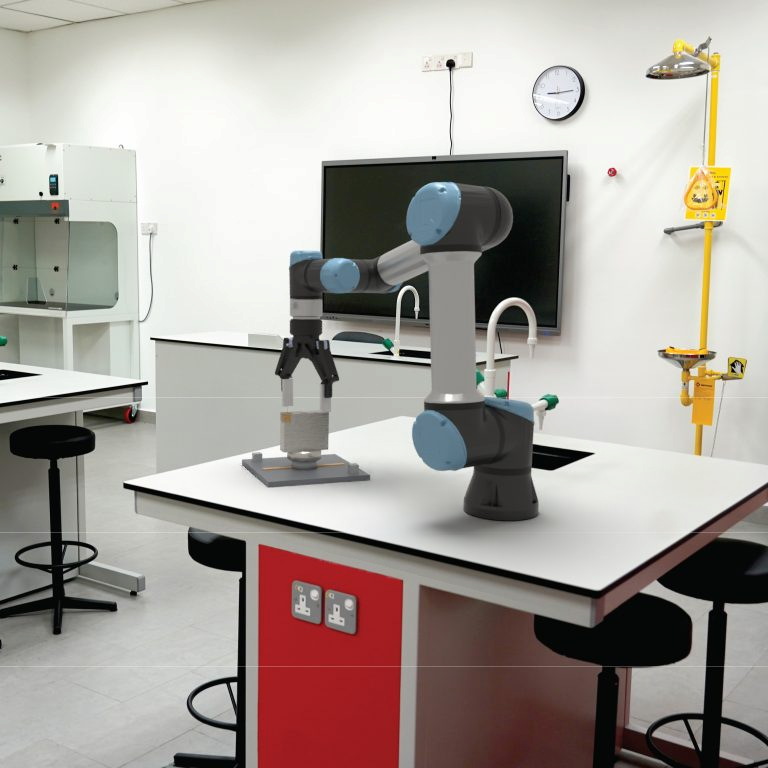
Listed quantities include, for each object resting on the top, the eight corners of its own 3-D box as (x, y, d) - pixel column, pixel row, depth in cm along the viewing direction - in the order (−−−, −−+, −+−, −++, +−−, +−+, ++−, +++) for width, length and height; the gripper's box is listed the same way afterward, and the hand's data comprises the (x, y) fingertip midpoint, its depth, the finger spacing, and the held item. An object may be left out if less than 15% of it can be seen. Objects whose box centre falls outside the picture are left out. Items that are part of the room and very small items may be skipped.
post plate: (369, 479, 207) (370, 466, 207) (268, 487, 198) (268, 473, 198) (335, 458, 229) (335, 446, 229) (242, 464, 220) (242, 451, 220)
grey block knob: (320, 453, 219) (320, 408, 218) (332, 460, 212) (333, 413, 211) (276, 456, 215) (277, 410, 213) (287, 463, 207) (288, 415, 206)
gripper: (260, 316, 215) (260, 405, 218) (329, 320, 198) (329, 416, 200) (284, 316, 221) (285, 402, 223) (354, 319, 203) (354, 413, 205)
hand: (306, 409), depth 211 cm, fingers open, 13 cm apart
